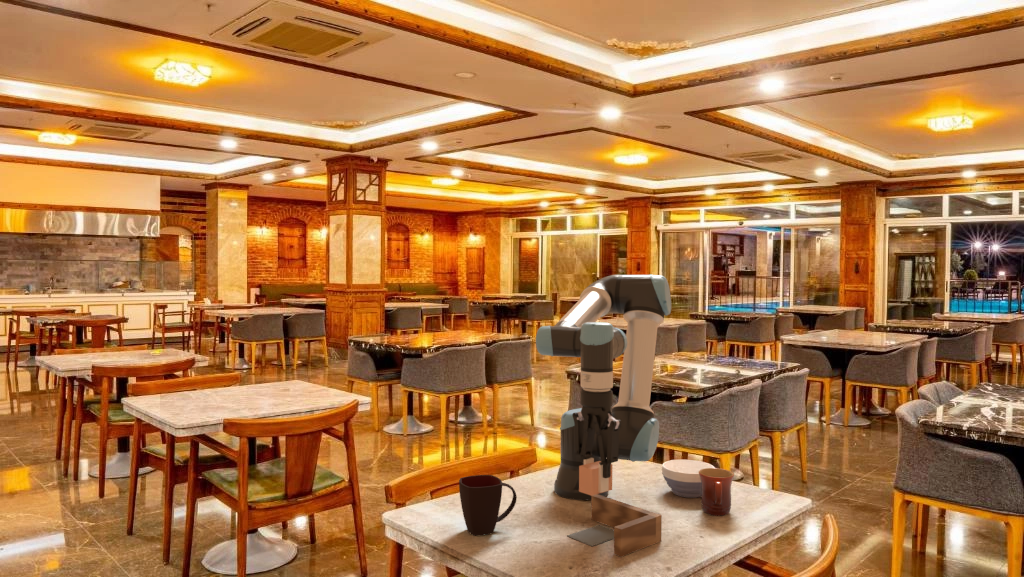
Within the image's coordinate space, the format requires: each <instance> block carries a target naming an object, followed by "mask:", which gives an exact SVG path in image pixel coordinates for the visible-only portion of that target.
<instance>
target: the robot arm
mask: <svg viewBox="0 0 1024 577" xmlns="http://www.w3.org/2000/svg"><path fill="white" fill-rule="evenodd" d="M671 298H672V297H671V290H670V285H669V282H668V279H667V278H666V277H665V276H664V275H659V274H652V273H651V274H611V275H608V276H604V277H602V278H599V279H598V280H596V281H593V282H592V283H591V284H589V285H588V286H587V287H586V288H584V289H583V290H582V292H581V294H580V295H579V300H577V302H576V303H574V305H573V306H572V307H571V308H570V309H569V310H568V311H567V312H566V313H565V314H564V315H563V316H562V317H561V318H560V320H558V322H556V323H555V324H554V326H553V325H543V326H540V327H539V328H538V329H537V332H536V336H535V346H536V347H535V348H536V350H537V353H539V354H540V355H542V356H550V357H562V358H563V357H565V358H580V387H581V388H582V389H580V394H579V399H580V402H579V403H580V405H581V406H582V407H580V408H573V409H570V410H567V411H565V412H563V414H562V415H561V418H560V428H559V430H560V465H559V468H558V472H557V474H556V478H555V480H554V484H553V485H554V486H553V488H554V490H553V491H554V493H555V494H556V495H557V496H559V497H562V498H565V499H570V500H578V501H579V500H580V501H590V500H591V501H592V496H591V495H588V494H585V493H582V492H579V466H581V465H585V464H589V463H593V462H597V461H601V462H599V464H598V468H599V473H598V492H600V493H599V494H598V495H602V496H605V497H607V495H609V491H608V490H609V477H610V476H611V464H613V463H616V462H618V461H619V460H621V461H622V460H623V461H630V462H647V461H650V460H651V459H652V458H653V456H654V454H655V452H656V450H657V446H658V443H659V438H660V421H659V420H658V418H656V417H655V413H654V411H653V409H652V408H651V407H650V405H651V404H650V402H651V393H652V386H653V375H654V367H655V366H654V365H655V364H654V363H655V358H656V357H655V356H656V346H657V336H658V327H659V326H660V325H662V324H663V323H664V320H665V316H669V315H670V314H671V311H672V299H671ZM608 314H620V315H622V317H623V320H624V321H625V322H626V323H627V326H626V333H625V332H624V331H623V330H622V329H620V328H618V327H615V326H613V324H612V323H610V322H602V321H601V322H600V321H598V320H599V319H600V318H602V317H604V316H606V315H608ZM622 354H623V359H622V368H621V376H620V384H619V392H618V401H617V403H616V404H614V400H613V399H614V391H613V390H612V389H613V387H614V359H616V358H618V357H620V356H621V355H622ZM613 404H614V405H613ZM605 491H606V492H605ZM601 492H603V493H601Z"/></svg>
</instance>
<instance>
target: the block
mask: <svg viewBox="0 0 1024 577" xmlns="http://www.w3.org/2000/svg"><path fill="white" fill-rule="evenodd" d="M599 462H601V461H597V462H593V463H589V464H585V465H581V466H579V492H582V493H585V494H588V495H591V496H592V495H596V494H599V493H600V492H598V473H599V468H598V464H599ZM608 491H613V463H611V476H610V477H609V490H608ZM605 492H606V491H605ZM601 493H603V492H601Z"/></svg>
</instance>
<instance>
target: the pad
mask: <svg viewBox="0 0 1024 577" xmlns="http://www.w3.org/2000/svg"><path fill="white" fill-rule="evenodd" d="M567 537H568V538H570V539H573V540H575V541H578V542H580V543H582V544H585V545H587V546H590V547H595V546H597V545H600V544H603V543H606V542H608V541H611V540H614V529H612V528H611V527H610V528H609V527H608V526H605V525H603V524H596V525H595V526H590V527H589V528H585V529H582V530H579V531H576V532H574V533H570V534H568V535H567Z"/></svg>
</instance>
